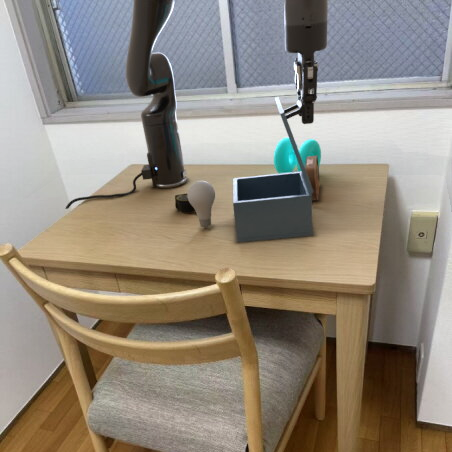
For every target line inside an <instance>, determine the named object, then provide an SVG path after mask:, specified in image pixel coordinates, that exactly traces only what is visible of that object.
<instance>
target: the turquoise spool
mask: <svg viewBox="0 0 452 452" xmlns="http://www.w3.org/2000/svg"><path fill="white" fill-rule="evenodd" d="M295 143H296V141H295ZM296 145H297V148H298V144H297V143H296ZM321 150H322V149H321V146H320V143H319V142H318V141H317V140H316V139H313V138H309V139H307V140H305V141H304V142H302V143H301V145H300V147H299V148H298V151H299V153H300V156H301V159H302V162H303V164H304V167H305V164H306V159H307V157H309V156H316V155H317V157H318V165H319V166H320V165H321V161H322V151H321ZM273 166H274V168H275V171H276V173H277V174H280V173H290V172H294V170H295V169H296V170H297V172H300V171H301V168H300V166H299V163H298V160H297V158H296V155H295V152H294V150H293V147H292V144H291V142H290V139H289V136H287V137H284V138H282V139H280V140H279V142H278V143H277V145H276V147H275V150H274V153H273Z"/></svg>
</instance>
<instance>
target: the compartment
mask: <svg viewBox="0 0 452 452" xmlns="http://www.w3.org/2000/svg"><path fill="white" fill-rule="evenodd" d="M232 192H233V193H232V206H233V214H234V224H235V234H236V235H235V236H236V241H237V243H247V242H259V241H267V240H268V241H270V240H279V239H280V240H281V239H289V238H290V239H291V238H300V237H301V238H302V237H311V236H313V200H312V194H310V193H309V190H308V187H307V185H306V182H305V179H304V176H303V174H302V171H300V172H298V171H292V172H290V173H280V174H279V173H271V174H262V175H254V176H253V175H251V176H243V177H234V178H232Z"/></svg>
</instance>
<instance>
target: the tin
mask: <svg viewBox="0 0 452 452" xmlns="http://www.w3.org/2000/svg"><path fill="white" fill-rule="evenodd" d="M305 170H306V172H307V175H308V178H309V181H310V183H311V186H312V189H313V191H314V192H313V193H311V194H312V201H319V195H320V165H318V157H317V155H316V156H309V157H307V159H306V164H305Z"/></svg>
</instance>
